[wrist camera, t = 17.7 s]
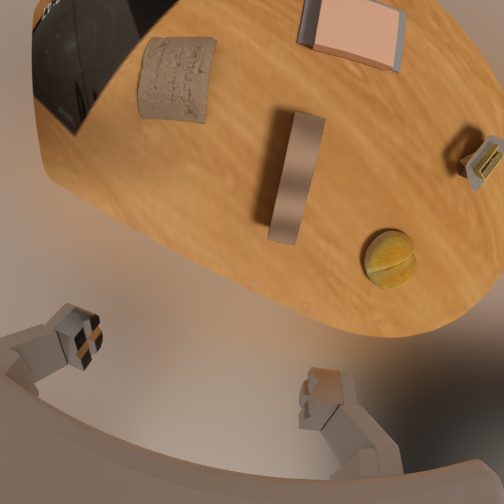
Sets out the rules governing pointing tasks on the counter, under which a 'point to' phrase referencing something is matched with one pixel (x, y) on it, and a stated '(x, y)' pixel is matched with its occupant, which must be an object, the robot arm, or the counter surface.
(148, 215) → the counter surface
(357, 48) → the tile
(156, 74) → the clay tablet
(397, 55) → the mat
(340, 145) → the counter surface
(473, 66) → the counter surface
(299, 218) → the bar
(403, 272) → the bread roll
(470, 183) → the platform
